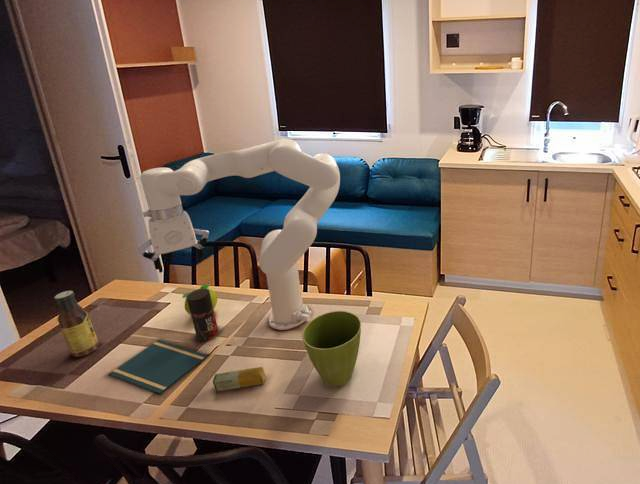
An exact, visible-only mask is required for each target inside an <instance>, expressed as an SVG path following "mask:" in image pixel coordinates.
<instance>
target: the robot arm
mask: <svg viewBox="0 0 640 484" xmlns="http://www.w3.org/2000/svg"><path fill="white" fill-rule="evenodd" d="M272 172H276V173H277V174H279V175H281V176H283V177H284V178H287V179H290V180H292V181H295V182H298V183H300V184H303V185H305V186H308V189H307V191H306V192H305V193H304V195H303V196H302V197H301V198H300V199H298V202H297V203H296V204H295V205H294V206H293V207H292V208H291V209H289V211H288V212H287V214H286V215H285V217H284V220H283V227H282V229H274V230H272V231H270V232H268V233H267V234H266V235H265V236H264V238H263V240H262V243H261V246H260V250H259V256H258V265H259V268H260V270H261V271H262V273H264V274H265V277H266V283H267V289H268V295H269V300H270V305H271V314H270V315H269V317H268V324H269V326H270V327H271V328H272V329H274V330H279V331H280V330H281V331H284V330H290V329H294V328H296V327H298V326H300V325H302V324H303V323H304V322H310V321H311V320H312V319H311V318H312V316H311V315H312V314H313V310H309V307H308V306H307V305H306V303H304V302H303V296H302V295H303V294H302V289H301V281H300V276H299V275H300V273H299V266H298V261H299V260H300V259H301V258H302V256H304V255H305V253H306V252H307V251H308V250H309V248H311V246H312V244H313V243H314V242H315V240H316V238H317V234H318V223H319V222H320V220H321V219H322V217H323V216H324V215H325V213H327V211H328V209H329V208H330V207H331V206H332V205H333V203H334V201H335V200H336V198H337V196H338V193H339V190H340V185H341V173H340V168H339V165H338V163H337V161H336V160H335V158H334V157H332V156H331V155H330V154H328V153H326V152H325V153H324V152H321V153H317V154H316V155H314V156H312V155H310V154H308V153H306V152H304V151H302V150H301V146H299V144H298V143H297V142H296V141H295V140H293V139H291V138H280V139H276V140H273V141H269V142H265V143H262V144H257V145H254V146H249V147H245V148H242V149H237V150H231V151H225V152H224V151H223V152H218V153H214V154H211V155H207V156H201V157H198V158H196V159H191V160H190V161H188V162H186V163H184V164H183V165H182V166H181V167H180V168H178V169H176V170H173V169H171V167H154V168H149V169H146V170H144V171H142V172H141V174H140V175H139V176H140V177H139V178H140V182H141V186H142V190H143V194H144V198H145V201H146V204H147V208H148V209H147V210H145V211H143V212H142V215H143V217H144V218H146V217H148V218H149V219H148V231H149V237H150V238H148V239H147V240H146V241H144V242H143V243H142V244H140V245H139V246H137V247H136V252H138V253H139V254H140V255H141V256H142V257H143V258H145V259H148V260H151V262H153V266H154V269H155V271H156V270H158V272H159V273H160V274H161V273H163V265H162V262H161V258H160V255H165V254H169V253H173V252H176V251H180V250H184V249H187V248H191V247H194V248H195V252H196V256H197V260H198V262H202V261H203V259H202V258H203V257H204V252H203V247H204V245H206V243H207V241H208V238H209V236H210V231H209V230H207V229H199V228H194V226H193V222H192V220H191V218H190V215H189V214H188V212H187V211H186V210H184V207H183V204H182V199H181V196H194V195H197V194H199V193H200V192H201V191H202V190H203V189H204V187H205V186H206V185H207V183H208V182H212V181H214V180H218V179H223V178H227V177H232V176H238V177H241V178H245V179H251V178H255V177H258V176H262V175H265V174H268V173H272ZM196 235H198V236H199V235H200V236H202V237H201V238H200V239H199V240H197V237H196ZM149 247H152V249H153V252H150V251H147V250H146V249H148V248H149Z"/></svg>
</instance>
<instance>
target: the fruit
mask: <svg viewBox="0 0 640 484" xmlns="http://www.w3.org/2000/svg"><path fill="white" fill-rule="evenodd" d="M210 286H211V283H206V284H203V285H201V286H200V288H196V289H194V290H192V291H189V292H185V293H183V295H182V297H181V298H182V299H185V301H184V310H185V311H186V313H187V314H188V315H190V316H191V313H190V309H189V305H188V301H187V295H188V294H190V293H191V292H193V291H195V290H198V289H208V290H209V292H210V296H211V301H212V305H213V309H214V310H215V308H216V306H217V303H218V294H217V293H216V292H215V291H214V290H212V289H209V287H210Z"/></svg>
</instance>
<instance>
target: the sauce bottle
mask: <svg viewBox="0 0 640 484" xmlns="http://www.w3.org/2000/svg"><path fill="white" fill-rule="evenodd" d="M75 296H76V294H75V292H74V291H73V290H65V291H62V292H59V293H57V294H56V295H55V296H54V297H53V299H54V302H55V303H56V304H57V306H58V310H59V314H58V316H57V322H58V324H59V328H60V330H61V333H62V335H63V338H64V340H65V343H66V345H67V347H68V350H69V352H70V353H71V356H72V357H74V358H81V357H84V356H88V355H89V354H91V353H93V352H95V351H96V350H97V349H98V347H99V340H98V337H97V334H96V332H95V330H94V326H93V324H92V322H91V318H90V316H89V313H88V311H86V309H84V308H83V306H81V305H80V304H79V303H78V301H77V300H76V299H77V298H76V297H75Z"/></svg>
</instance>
